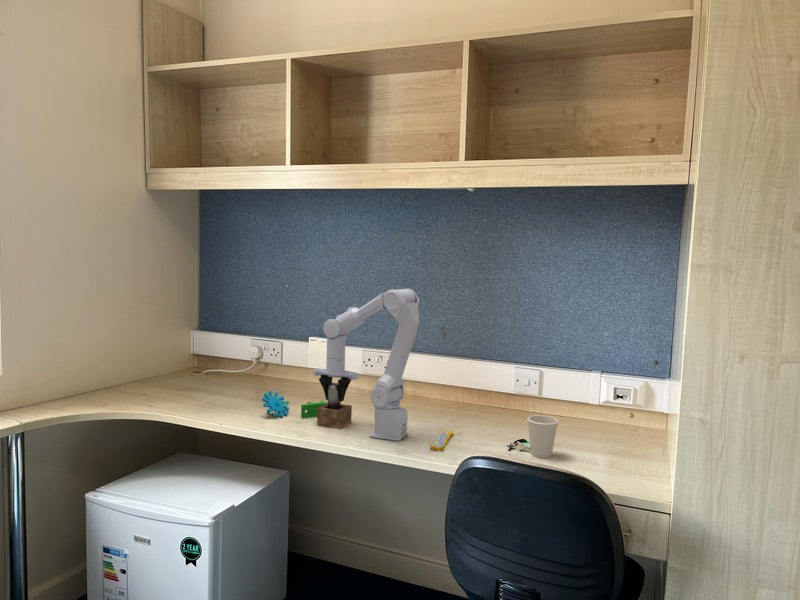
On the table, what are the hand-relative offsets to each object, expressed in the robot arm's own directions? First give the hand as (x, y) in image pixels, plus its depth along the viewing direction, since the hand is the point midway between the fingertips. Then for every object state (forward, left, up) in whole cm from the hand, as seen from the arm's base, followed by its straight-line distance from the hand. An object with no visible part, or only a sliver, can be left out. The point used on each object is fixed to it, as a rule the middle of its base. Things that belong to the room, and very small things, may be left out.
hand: (334, 400), depth 189 cm
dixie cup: (-64, +2, -8) cm, 65 cm away
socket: (0, 0, -8) cm, 8 cm away
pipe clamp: (+9, -6, -8) cm, 14 cm away
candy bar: (-36, +3, -8) cm, 37 cm away
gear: (+21, -1, -8) cm, 23 cm away
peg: (0, 0, -3) cm, 3 cm away
